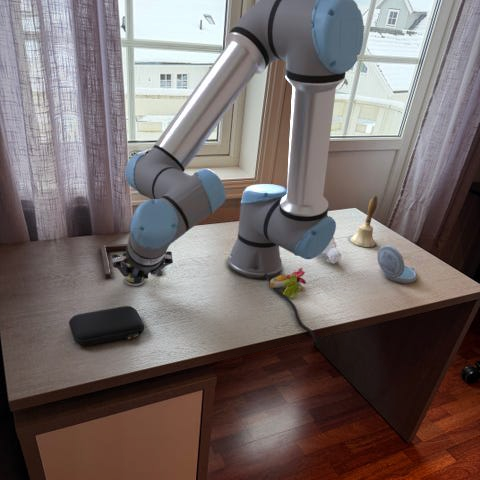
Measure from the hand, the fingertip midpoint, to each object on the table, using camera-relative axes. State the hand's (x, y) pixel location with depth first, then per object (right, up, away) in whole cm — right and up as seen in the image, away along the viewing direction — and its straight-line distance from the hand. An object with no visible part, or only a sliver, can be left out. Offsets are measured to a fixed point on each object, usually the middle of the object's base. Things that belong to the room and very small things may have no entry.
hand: (136, 278), depth 110 cm
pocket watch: (+73, +3, +23) cm, 76 cm away
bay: (-5, +6, +13) cm, 15 cm away
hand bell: (+67, +16, +41) cm, 80 cm away
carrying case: (-3, -13, -13) cm, 19 cm away
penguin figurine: (+52, +9, +28) cm, 60 cm away
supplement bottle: (-1, -1, +5) cm, 5 cm away
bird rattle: (+35, -2, +5) cm, 36 cm away
